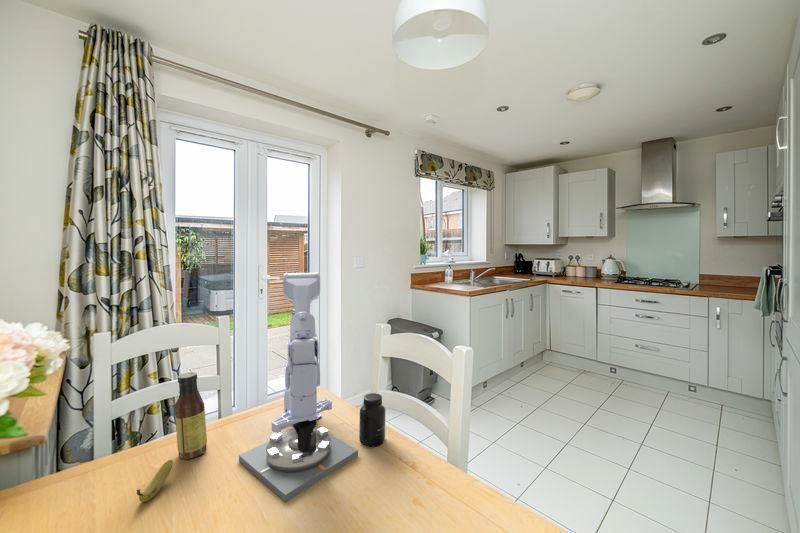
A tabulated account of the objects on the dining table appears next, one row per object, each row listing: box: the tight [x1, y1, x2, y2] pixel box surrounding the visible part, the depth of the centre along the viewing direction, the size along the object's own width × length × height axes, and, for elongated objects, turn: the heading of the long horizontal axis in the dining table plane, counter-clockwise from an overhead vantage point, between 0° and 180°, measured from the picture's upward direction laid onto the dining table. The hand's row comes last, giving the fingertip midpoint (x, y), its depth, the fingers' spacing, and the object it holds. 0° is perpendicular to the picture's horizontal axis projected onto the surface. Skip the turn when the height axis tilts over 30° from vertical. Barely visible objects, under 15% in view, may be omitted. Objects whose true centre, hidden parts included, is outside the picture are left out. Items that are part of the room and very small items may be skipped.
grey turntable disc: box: [266, 426, 331, 472], centre depth 84 cm, size 15×15×7 cm
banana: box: [135, 459, 174, 503], centre depth 72 cm, size 10×2×4 cm, turn 0°
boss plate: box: [238, 425, 359, 503], centre depth 84 cm, size 20×20×2 cm
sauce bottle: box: [174, 371, 208, 460], centre depth 85 cm, size 6×6×20 cm
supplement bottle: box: [358, 392, 386, 448], centre depth 91 cm, size 7×7×12 cm
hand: (303, 450), depth 78 cm, fingers closed
